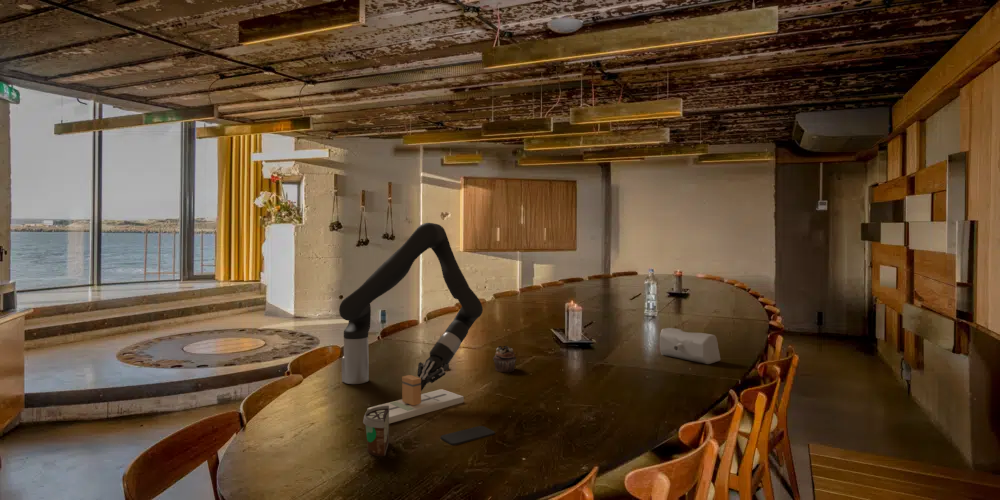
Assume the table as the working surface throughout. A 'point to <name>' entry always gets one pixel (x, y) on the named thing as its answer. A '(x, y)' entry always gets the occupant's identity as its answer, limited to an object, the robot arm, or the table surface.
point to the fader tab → (411, 390)
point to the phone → (467, 435)
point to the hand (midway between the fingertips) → (416, 390)
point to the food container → (377, 430)
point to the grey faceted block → (689, 346)
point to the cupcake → (504, 359)
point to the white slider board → (421, 405)
